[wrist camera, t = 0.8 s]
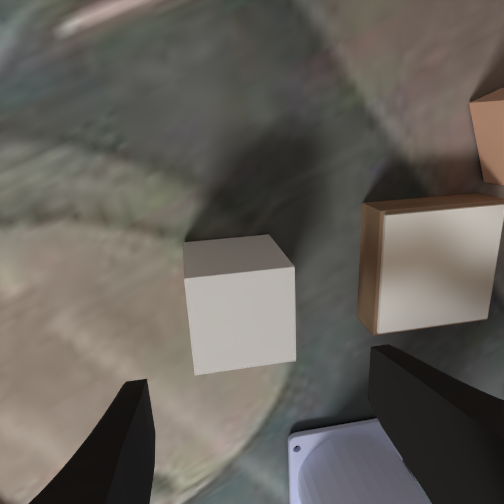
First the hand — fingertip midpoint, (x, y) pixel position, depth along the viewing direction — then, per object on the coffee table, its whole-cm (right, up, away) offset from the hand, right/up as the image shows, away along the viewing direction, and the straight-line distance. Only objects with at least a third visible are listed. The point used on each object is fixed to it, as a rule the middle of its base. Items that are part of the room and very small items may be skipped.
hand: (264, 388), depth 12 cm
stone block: (-2, +3, +9) cm, 9 cm away
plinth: (+9, +4, +11) cm, 15 cm away
